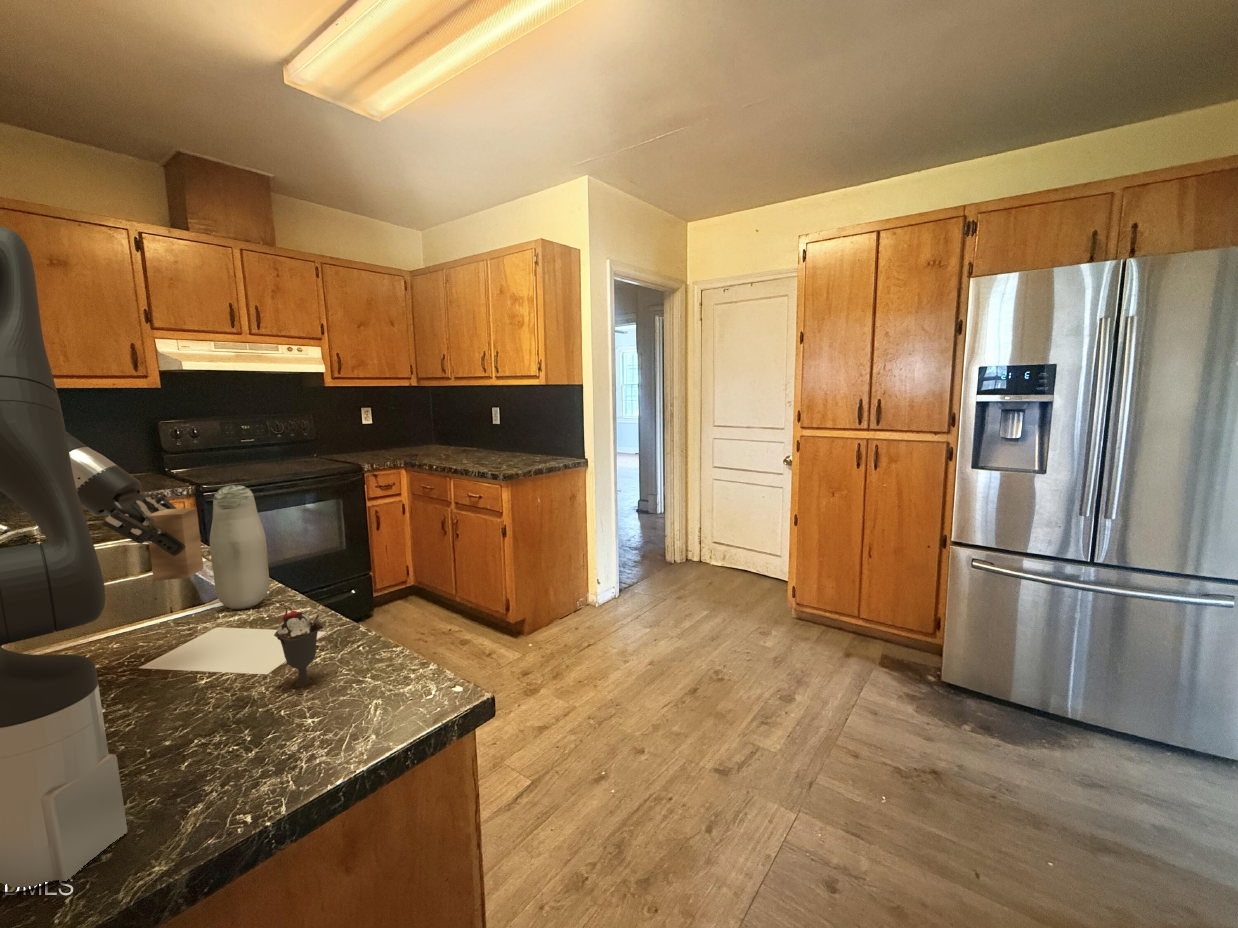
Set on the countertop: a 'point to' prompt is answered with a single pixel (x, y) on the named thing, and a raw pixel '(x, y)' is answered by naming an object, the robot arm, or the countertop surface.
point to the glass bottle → (238, 549)
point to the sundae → (299, 642)
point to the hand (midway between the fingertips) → (189, 546)
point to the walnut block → (187, 532)
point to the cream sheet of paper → (226, 652)
